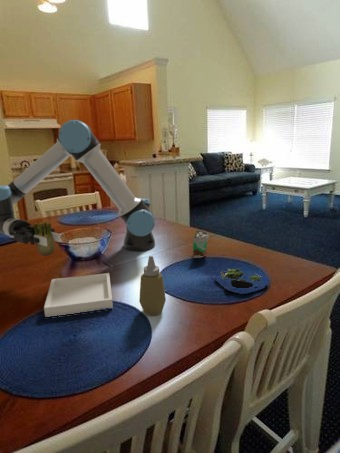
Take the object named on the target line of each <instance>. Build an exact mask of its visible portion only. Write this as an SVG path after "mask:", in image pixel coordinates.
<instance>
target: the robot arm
mask: <svg viewBox="0 0 340 453" xmlns="http://www.w3.org/2000/svg"><path fill="white" fill-rule="evenodd" d="M70 157H73V159H75V161H76V162H79V163H82V164H83V165H84V166H85V168H86V169H87V170H88V172H89V173H90V175H91V176H92V177H93V178H94V180H96V182H97V183H98V185H99V186H100V187H101V189H102V190H103V191H104V192H105V193H106V195H107V196H108V197H109V198H110V200H111V201H112V202H113V203H114V205H115V206H116V207H117V209H118V216H119V217H120V218H121V219H122V221H123V222H124V224H125V226H126V227H125V229H126V232H125V235H124V240H123V248H124V249H126V250H127V251H132V252H133V251H134V252H143V251H148V250H151V249H153V248H155V246H156V241H155V236H154V235H153V234H154V233H153V230H154V228H155V224H156V219H155V216H154V215H153V212H152V211H151V201H150V199H149V198H142V197H136V196H135V195H134V193H133V192H132V191H131V189H130V188H129V187H128V184H126V183H125V181H124V180H123V178H122V177H121V176H120V174H118V171H117V170H116V169H115V168H114V166H113V165H112V163H110V160H108V159H107V157H106V156H105V154H104V152H102V150H101V143H100V142H99V140H98V139H97V137H96V136H95V134H94V133H93V131H92V128H91V127H90V126H89V125H88V124H87V123H85V122H84V121H82V120H79V119H70V120H67V121H65V122H64V123H63V124H62V125H61V127H60V128H59V132H58V137H57V138H56V142H55V144H53V145H52V146H51V147H50V148H49V149H47V151H45V152H44V153H43V154H41V156H40V157H39V158H37V159H36V160H35V161H34V162H32V163H31V165H29V166H28V167H26V169H25V170H23V171H22V172H21V173H20V174H19V175H18V176H16V178H14V180H12V181H11V182H10V183H9V184H7V185H5V184H4V185H0V234H2V235H4V236H7V237H9V240H11V241H16V242H19V243H22V244H25V245H27V244H29V243H30V245H31V246H32V245H35V244H36V243H38V244H41V245H43V246H47V238H45V237H42V236H39V235H35V231H34V225H31V223H30V222H29V221H27V220H23V219H20V218H17V217H15V210H14V205H15V204H16V203H18V202H19V201H20V200H21V199H22V198H23V197H25V196H26V195H27V194H28V193H29V192H30V191H31V190H32V189H34V188H35V187H37V185H38V184H39V183H40V182H42V181H43V180H45V179H46V177H47V176H49V175H50V174H51V173H52V172H53V171H54V170H56V169H57V168H58V167H60V165H62V164H63V163H64V162H65V161H66V160H68V158H70ZM38 229H39V226H38ZM55 230H56V229H55V228H53V227H51V234H52V238H53V241H54V242H57V243H61V234H60V233H57V232H56V231H55ZM43 233H44V224H43Z"/></svg>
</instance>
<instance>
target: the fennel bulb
mask: <svg viewBox="0 0 340 453" xmlns="http://www.w3.org/2000/svg"><path fill="white" fill-rule="evenodd" d="M43 225H44V233H43ZM32 226H34V231H35V235H39V236H42V237H45V238H47V246H43V245H41V244H38V243H35V246H36V250H37V252H38V254H39V255H41V256H45V257H46V256H50V255H52V254H54V252H55V248H56V247H55V241H54V240H53V238H52V234H51V228H52V224H51V222H47V221H43V222H39V223H37V222H35V223H33V225H32ZM38 227H39V229H38Z"/></svg>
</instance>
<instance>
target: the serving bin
mask: <svg viewBox="0 0 340 453" xmlns="http://www.w3.org/2000/svg"><path fill="white" fill-rule="evenodd" d="M112 293H113V292H112V286H111V278H110V272H107V273H106V272H105V273H98V274H89V275H88V274H87V275H81V276H80V275H79V276H77V275H76V276H70V277H69V276H68V277H60V278H59V277H58V278H51V281H50V285H49V288H48V292H47V295H46V300H45V302H44V306H43V311H44V312H43V313H44V316H45V317H50V316H57V315H58V316H59V315H66V314H74V313H80V312H87V311H94V310H100V309H106V308H113V309H114V307H113V305H114V304H113V296H112V295H113V294H112ZM74 315H75V314H74ZM59 317H60V316H59Z"/></svg>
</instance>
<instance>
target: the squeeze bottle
mask: <svg viewBox="0 0 340 453" xmlns="http://www.w3.org/2000/svg"><path fill="white" fill-rule="evenodd" d="M163 277H164V276H163V274H162V273H160V266H158V265H156V262H155V259H154V256H153V255H150V256H148V261H147V265H146V266H144V267H143V273H142V274H141V276H140V284H139V285H140V286H139V287H140V288H139V299H138V301H139V304H140V306H141V308H142V309H141V310H143V313H144V314H145V315H147V316H157V315H160V314H161V313H162V312H163V310H164V306H165V305H166V300H167V299H166V297H167V296H166V291H165V284H164V278H163Z"/></svg>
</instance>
